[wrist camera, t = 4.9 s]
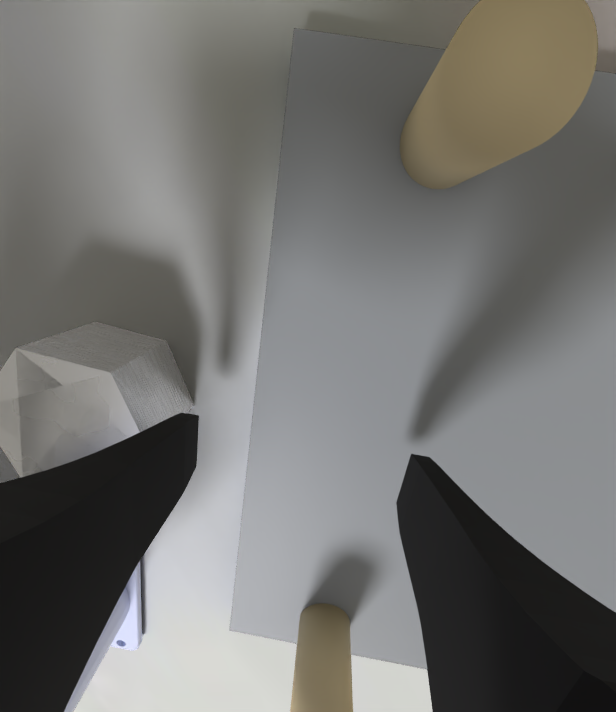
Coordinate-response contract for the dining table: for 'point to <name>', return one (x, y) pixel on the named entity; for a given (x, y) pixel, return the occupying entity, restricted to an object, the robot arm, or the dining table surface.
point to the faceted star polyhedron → (84, 394)
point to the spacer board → (431, 325)
